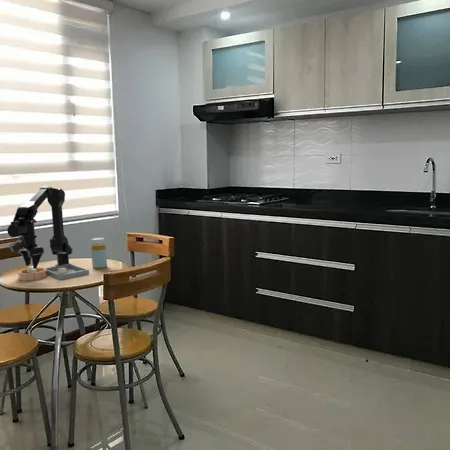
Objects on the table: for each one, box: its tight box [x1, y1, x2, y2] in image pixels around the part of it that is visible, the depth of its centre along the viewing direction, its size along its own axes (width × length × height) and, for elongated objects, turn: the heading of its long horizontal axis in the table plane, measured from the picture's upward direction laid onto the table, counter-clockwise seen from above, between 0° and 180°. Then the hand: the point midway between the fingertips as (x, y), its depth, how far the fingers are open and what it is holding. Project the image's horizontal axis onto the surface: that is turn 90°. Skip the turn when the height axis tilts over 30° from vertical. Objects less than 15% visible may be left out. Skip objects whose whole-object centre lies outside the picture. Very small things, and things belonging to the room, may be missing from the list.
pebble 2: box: [58, 268, 67, 275], centre depth 220 cm, size 4×4×4 cm
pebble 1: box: [27, 269, 36, 273], centre depth 219 cm, size 4×4×4 cm
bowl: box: [17, 266, 48, 281], centre depth 221 cm, size 12×12×4 cm
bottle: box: [90, 237, 108, 270], centre depth 236 cm, size 7×7×15 cm
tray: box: [45, 263, 90, 280], centre depth 227 cm, size 20×14×2 cm
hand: (31, 267), depth 219 cm, fingers open, 9 cm apart
